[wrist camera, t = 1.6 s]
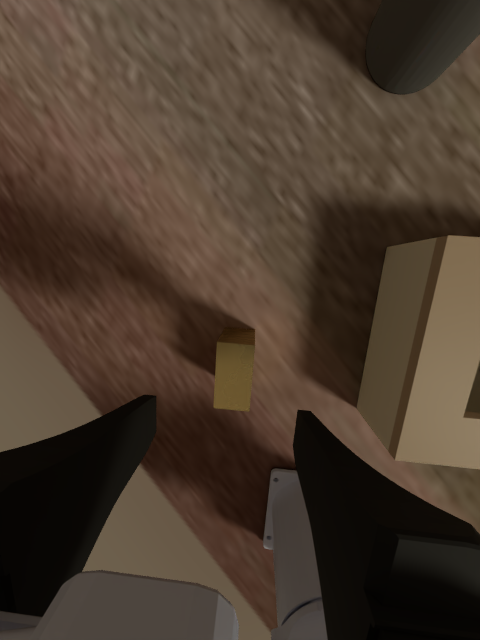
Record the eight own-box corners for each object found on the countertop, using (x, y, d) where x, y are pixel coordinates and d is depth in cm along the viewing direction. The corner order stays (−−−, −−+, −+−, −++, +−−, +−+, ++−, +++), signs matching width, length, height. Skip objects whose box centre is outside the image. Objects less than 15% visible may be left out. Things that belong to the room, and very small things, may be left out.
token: (250, 382, 22) (249, 411, 17) (222, 379, 22) (213, 407, 17) (255, 329, 21) (254, 345, 16) (225, 326, 21) (216, 342, 16)
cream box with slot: (483, 420, 21) (574, 479, 15) (356, 408, 21) (394, 460, 15) (535, 256, 18) (671, 248, 12) (386, 246, 18) (448, 235, 13)
